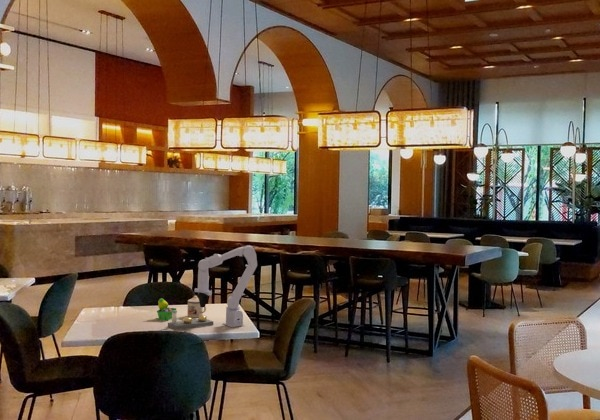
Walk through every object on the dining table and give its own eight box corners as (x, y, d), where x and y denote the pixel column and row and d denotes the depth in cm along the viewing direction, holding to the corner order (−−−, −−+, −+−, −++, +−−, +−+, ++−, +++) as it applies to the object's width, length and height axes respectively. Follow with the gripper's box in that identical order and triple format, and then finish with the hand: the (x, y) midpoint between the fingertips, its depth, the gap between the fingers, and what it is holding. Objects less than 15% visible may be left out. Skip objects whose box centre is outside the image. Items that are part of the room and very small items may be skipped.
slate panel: (213, 325, 359) (213, 321, 359) (177, 329, 345) (177, 326, 345) (203, 321, 367) (203, 318, 367) (167, 326, 353) (167, 322, 353)
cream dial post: (177, 323, 351) (178, 310, 351) (173, 324, 350) (173, 311, 349) (175, 322, 354) (175, 310, 353) (170, 323, 352) (170, 310, 352)
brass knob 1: (193, 326, 353) (193, 318, 353) (186, 327, 350) (186, 319, 350) (189, 325, 357) (189, 316, 357) (181, 326, 354) (182, 317, 354)
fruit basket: (168, 321, 367) (169, 300, 366) (153, 320, 368) (154, 299, 368) (176, 317, 378) (177, 297, 377) (162, 316, 379) (162, 296, 379)
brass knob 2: (207, 324, 359) (208, 316, 359) (200, 325, 356) (201, 317, 356) (203, 323, 362) (203, 315, 362) (196, 324, 360) (196, 316, 359)
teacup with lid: (183, 316, 380) (184, 296, 380) (193, 314, 388) (194, 294, 388) (200, 319, 375) (201, 298, 374) (210, 316, 383) (210, 296, 382)
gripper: (189, 280, 362) (189, 305, 362) (204, 284, 350) (203, 309, 351) (201, 279, 366) (200, 304, 367) (215, 283, 355) (214, 308, 355)
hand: (202, 307), depth 359 cm, fingers closed
